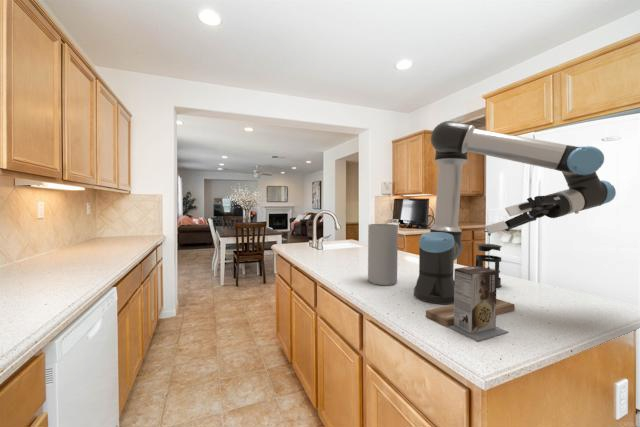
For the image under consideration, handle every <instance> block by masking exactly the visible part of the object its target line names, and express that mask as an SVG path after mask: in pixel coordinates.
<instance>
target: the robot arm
mask: <svg viewBox="0 0 640 427" xmlns="http://www.w3.org/2000/svg"><path fill="white" fill-rule="evenodd" d="M430 143H431V145H432V147H433V149H434V150H435V156H434V162H435V163H436V164H437V165H438V170H437V172H438V174H437V183H436V184H437V185H436V187H437V188H436V200H435V214H434V224H433V225H432V226H431V227H430V229H429V232H425V233H422V234H421V235H420V236H419V242H418V246H419V258H418V259H419V262H418V263H419V265H418V267H419V268H418V271H419V272H418V277H417V279H416V283H415V286H414V288H413V296H414V298H416V299H418V300H420V301H423V302H426V303H427V302H428V303H431V304H439V305H452V304H454V269H455V268H454V267H455V266H454V264H455V263H454V262H455V261H456V260H457V259H458V258H459V257H460V256H461V254H462V252H463V243H462V231H463V230H462V229H461V228H460V227H459V215H460V203H461V202H460V201H461V190H462V189H461V187H462V177H463V175H462V174H463V165H465V163H466V162H467V161H468V156H469V155H468V152H470V153H475V154H479V155H483V156H488V157H493V158H498V159H503V160H507V161H512V162H518V163H521V164H527V165H531V166H535V167H539V168H540V167H541V168H544V169H545V168H546V169H549V170H550V169H551V170H554V171H559V172H561V173H562V175H563V177H564V179H565V181H566V184H567V187H568V189H564V190H559V191H556V192H554V193H550V194H547V195H536V196H534V197H533V198H534V199H533V198H532V197H528V198H526V200H527V201H525V202H521V203H517V204H513V205H509V206H507V207H505V208H504V209H505V211H506V213H507V215H508V216H509V217H511V218H510V219H507V220H506V221H504V220H502V221H499V222H495V223H492V224H488V225H485V226H484V228H485V231H487V232H486V233H487V234H488V233H489V234H491V235H492V234H493V233H497V232H501V231H505V232H510V230H512V229H514V228H517V227H521V226H522V225H525V224H528V223H530V222H534V221H537V219H538V218H540V219H541V218H542V217H543V218H544V217H547V218H550V219H557V218H560V217H564V216H567V215H570V214H573V213H574V214H575V215H576V214H577V215H578V214H579V213H580V212H581V211H584V210H585V211H586V210H589V209H593V208H596V207H600V206H602V205H605V204H608V203H610V202H612V201H613V200H614V199H615V197H616V195H617V193H616V192H617V190H616V188H615V186H614V185H613V184H611V182H610V181H607V180H603V179H602V180H600V178H599V176H598V174H597V171H598V170H599V169H601V167H602V166H603V164H604V162H605V155H604V152H602V150H600V149H599V148H597V147H595V146H589V145H586V146H575V145H570V144H569V145H568V144H563V143H559V142H552V141H546V140H540V139H534V138H529V137H522V136H518V135H513V134H508V133H501V132H495V131H489V130H486V129H485V130H484V129H479V128H478V129H477V128H476V127H475V125H473V124H468V123H463V122H460V121H456V120H455V121H454V120H446V121H443V122H440V123H439V124H437V125H436V126H435V127H434V128H433V130H432V132H431V135H430ZM513 216H514V217H513Z"/></svg>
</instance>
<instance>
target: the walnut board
mask: <svg viewBox="0 0 640 427" xmlns="http://www.w3.org/2000/svg"><path fill="white" fill-rule="evenodd" d="M514 311H515V303H513V302H512V303H511V302H508V301H505V300H503V299H502V300H501V299H499V298H496V316H497V315H502V314H507V313H510V312H514ZM425 318H428V319H429V320H432V321H434V322H435V323H438V324H439V325H440V324H441V326H444V327H447V328H448V326H452V325H454V304H448V305H444V306H440V307H435V308H431V309H430V308H429V309H426V310H425Z"/></svg>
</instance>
